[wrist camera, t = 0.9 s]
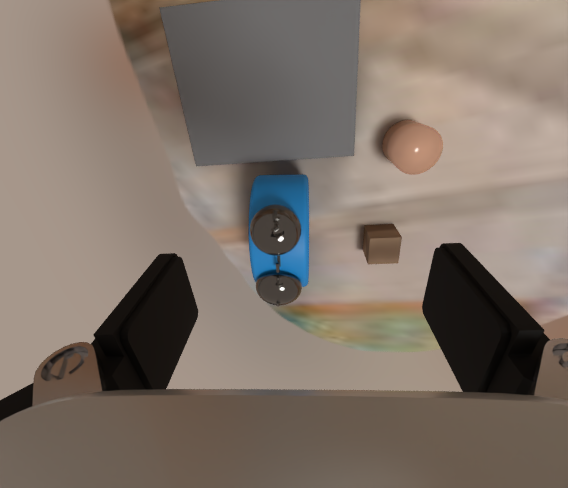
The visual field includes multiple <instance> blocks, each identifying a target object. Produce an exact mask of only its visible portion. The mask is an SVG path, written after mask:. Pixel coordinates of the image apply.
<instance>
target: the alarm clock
mask: <svg viewBox="0 0 568 488" xmlns="http://www.w3.org/2000/svg"><path fill="white" fill-rule="evenodd" d="M249 250H250V261H251V268H252V273H253V277H254V280H255V282H256V290H257V293H258V295H259V296H260V298H262V299H263V300H264V301H265V302H267V303H269V304H273V305H276V306H279V305H286V304H289V303H291V302H293V301H294V300H296V299H297V298H298V296H299V295H300V293H301V289H302V287H304V286H306V285H307V284H308V277H309V185H308V177H307V176H306V175H303V174H302V175H259V176H257V177H256V178H255V180H254V182H253V185H252V190H251V196H250V206H249Z"/></svg>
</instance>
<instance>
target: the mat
mask: <svg viewBox="0 0 568 488" xmlns="http://www.w3.org/2000/svg"><path fill="white" fill-rule="evenodd" d="M160 12H161V17H162V21H163V25H164V30H165V34H166V38H167V43H168V47H169V51H170V55H171V60H172V64H173V68H174V73H175V77H176V81H177V86H178V90H179V94H180V99H181V103H182V107H183V112H184V116H185V120H186V125H187V129H188V133H189V137H190V142H191V146H192V150H193V155H194V159H195V163H196V166H207V165H222V164H237V163H252V162H267V161H282V160H297V159H312V158H327V157H342V156H354V144H355V120H356V96H357V72H358V48H359V24H360V0H219V1H211V2H202V3H194V4H186V5H178V6H169V7H161V8H160Z"/></svg>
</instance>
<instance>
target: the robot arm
mask: <svg viewBox="0 0 568 488" xmlns="http://www.w3.org/2000/svg"><path fill="white" fill-rule="evenodd" d="M422 309H423V314H424V316H425V318H426V320H427V322H428V324H429V326H430V328H431V330H432V332H433V334H434V336H435V338H436V340H437V342H438V344H439V346H440V348H441V350H442V351H443V353H444V355H445V357H446V359H447V361H448V363H449V365H450V367H451V369H452V371H453V373H454V375H455V377H456V379H457V381H458V383H459V385H460V387H461V389H462V391H463V392H445V391H375V390H263V389H261V390H260V389H248V390H247V389H166V388H167V386H168V383H169V381H170V379H171V377H172V374H173V372H174V370H175V367H176V365H177V363H178V361H179V358H180V356H181V354H182V352H183V349H184V347H185V345H186V343H187V340H188V338H189V335H190V333H191V331H192V329H193V327H194V324H195V322H196V320H197V317H198V309H197V305H196V302H195V298H194V295H193V292H192V289H191V286H190V282H189V279H188V276H187V273H186V270H185V266H184V263H183V260H182V258H181V257H178V256H177V254H175V253H173V254H172V253H171V254H159V255H158V256H157V257H156V259H155V260H154V261H153V262H152V264H151V265H150V266H149V267H148V269H147V270H146V271H145V272H144V273H143V275H142V276H141V277H140V278H139V279H138V281H137V282H136V283H135V284H134V286H133V287H132V288H131V289H130V291H129V292H128V293H127V294H126V295H125V297H124V298H123V299H122V300H121V302H120V303H119V304H118V306H117V307H116V308H115V309H114V310H113V311H112V313H111V314H110V315H109V316H108V318H107V319H106V320H105V321H104V323H103V324H102V325H101V326H100V327H99V329H98V330H97V331H96V332H95V333H94V337H95V340H94V341H93V342H92V343H91V344H89V343H87V342H79V343H73V344H70V345H68V346H65V347H63V348H61V349H59V350H57V351H55V352H54V353H53V354H51V355H50V356H49V357H47V358H46V359H45V360H44V361H43V362H42V363H41V364H40V366H39V367H38V368H37V370H36V372H35V375H34V383H32V384H30V385H28V386H27V387H25V388H23V389H21V390H19V391H17V392H15V393H13V394H11V395H9V396H8V397H6V398H4V399H2V400H0V488H568V339H563V338H560V339H552V340H550V339H549V338H548V337H547V336H546V335H545V334H544V333H543V332H544V329H543V328H542V327H541V326H540V325H539V324H538V323H537V322H536V321H535V320H534V319H533V318H532V317H531V316H530V315H529V314H528V312H527V311H526V310H525V309H524V308H523V307H522V306H521V305H520V304H519V303H518V302H517V301H516V300H515V299H514V298H513V297H512V296H511V295H510V294H509V293H508V292H507V291H506V289H505V288H504V287H503V286H502V285H501V284H500V283H499V282H498V281H497V280H496V279H495V278H494V277H493V276H492V275H491V274H490V273H489V272H488V271H487V270H486V269H485V267H484V266H483V265H482V264H481V263H480V262H479V261H478V260H477V259H476V258H475V257H474V256H473V255H472V254H471V253H470V252H469V251H468V250H467V249H466V248H465V247H464V246H463V245H462V244H461V243H446V244H441V246H440V248H436V249H435V251H434V255H433V260H432V264H431V269H430V273H429V278H428V282H427V287H426V291H425V296H424V300H423V305H422Z"/></svg>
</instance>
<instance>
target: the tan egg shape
mask: <svg viewBox="0 0 568 488" xmlns="http://www.w3.org/2000/svg"><path fill="white" fill-rule="evenodd" d="M382 148H383V152H384V155H385V156H386V157H387V159H389V160H390V161H391V162H392V163H393V164H394V165H395V166H396V167H397V168H398V169H399V170H401V171H402V172H404V173H406V174H420V173H423V172H425V171H427V170H429V169H430V168H431V167H433V166H434V165H435V163H436V162H437V161H438V159H439V158H440V156H441V153H442V149H443V141H442V138H441V135H440V134H439V133H438V131H436V130H435V129H434V128H432V127H429V126H426V125H423V124H421V123H418V122H415V121H412V120H404V121H400V122H398V123H396V124H394V125H393V126H392V127H391V128H390V129H389V130H388V131H387V132H386V134H385V136H384V139H383V143H382Z"/></svg>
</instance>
